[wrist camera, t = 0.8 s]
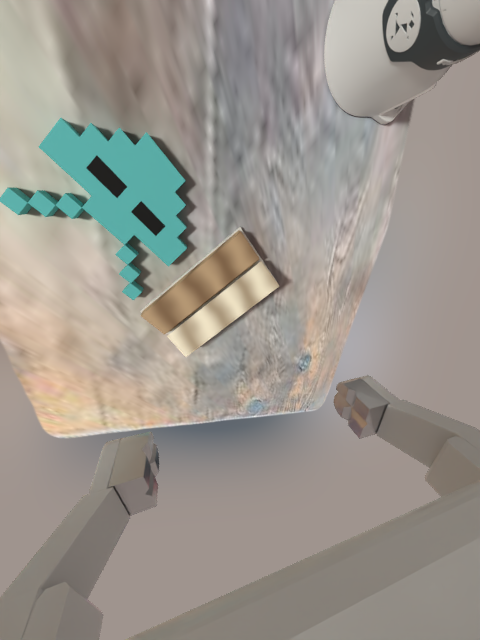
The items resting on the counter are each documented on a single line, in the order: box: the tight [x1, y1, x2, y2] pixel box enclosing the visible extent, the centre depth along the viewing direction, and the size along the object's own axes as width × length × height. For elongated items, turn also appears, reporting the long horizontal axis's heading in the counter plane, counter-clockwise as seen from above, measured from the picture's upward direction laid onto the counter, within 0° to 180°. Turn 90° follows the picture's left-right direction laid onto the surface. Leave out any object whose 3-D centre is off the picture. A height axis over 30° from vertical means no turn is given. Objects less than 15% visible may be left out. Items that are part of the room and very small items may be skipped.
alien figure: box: [0, 118, 187, 300], centre depth 32 cm, size 20×2×20 cm
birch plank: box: [167, 262, 279, 357], centre depth 41 cm, size 23×6×2 cm, turn 126°
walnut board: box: [141, 230, 259, 334], centre depth 39 cm, size 23×6×2 cm, turn 126°
